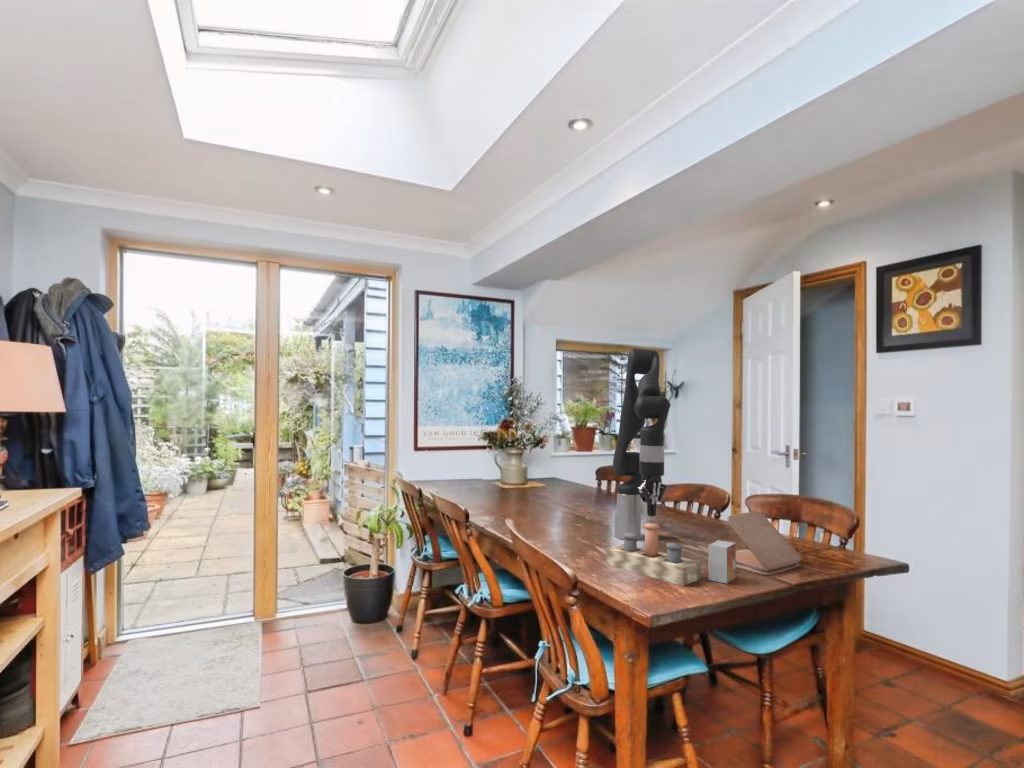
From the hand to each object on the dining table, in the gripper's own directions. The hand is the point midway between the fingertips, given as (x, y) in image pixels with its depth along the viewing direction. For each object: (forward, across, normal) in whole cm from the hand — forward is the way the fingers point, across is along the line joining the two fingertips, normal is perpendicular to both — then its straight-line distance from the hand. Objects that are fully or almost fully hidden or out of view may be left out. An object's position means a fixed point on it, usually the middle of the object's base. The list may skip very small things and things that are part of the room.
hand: (651, 515), depth 172 cm
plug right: (+17, 0, +8) cm, 19 cm away
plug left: (+17, 0, -8) cm, 19 cm away
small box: (+17, -10, +18) cm, 27 cm away
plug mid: (+13, 0, 0) cm, 13 cm away
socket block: (+17, 0, 0) cm, 17 cm away
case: (+18, -34, +17) cm, 42 cm away
